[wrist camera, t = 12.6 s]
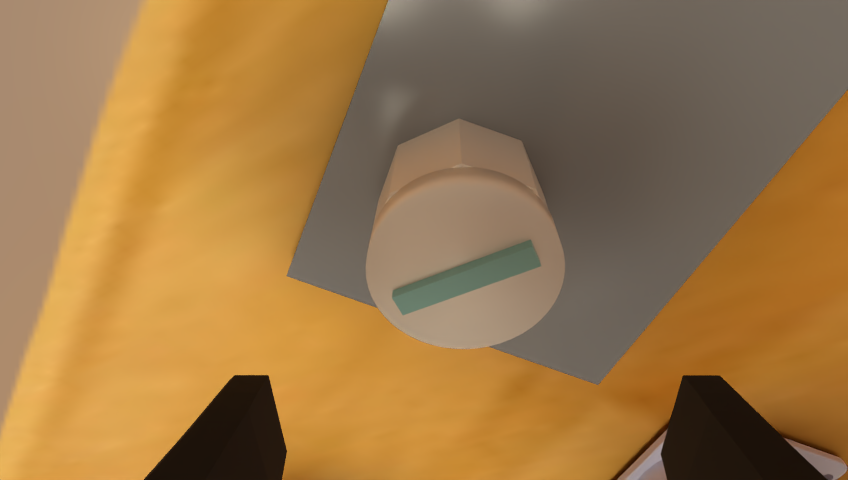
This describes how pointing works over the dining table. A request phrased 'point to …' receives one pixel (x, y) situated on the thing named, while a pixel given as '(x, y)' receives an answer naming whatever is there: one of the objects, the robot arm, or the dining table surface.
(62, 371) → the dining table surface
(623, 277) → the board
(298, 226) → the dining table surface
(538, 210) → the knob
